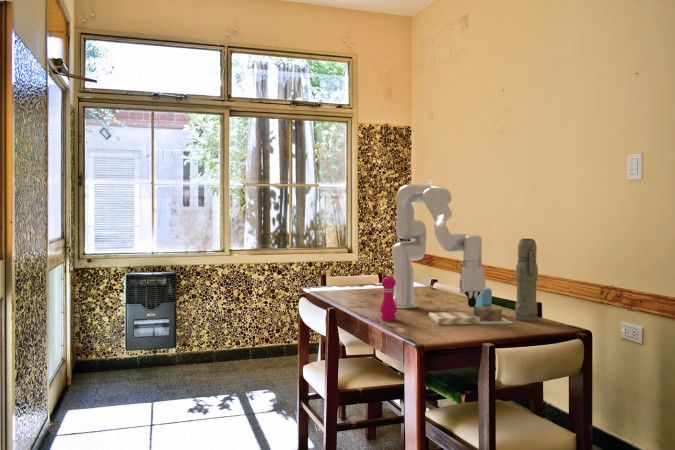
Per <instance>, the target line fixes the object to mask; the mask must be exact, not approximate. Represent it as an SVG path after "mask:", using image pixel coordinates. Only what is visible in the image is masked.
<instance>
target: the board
mask: <svg viewBox="0 0 675 450" xmlns="http://www.w3.org/2000/svg"><path fill="white" fill-rule="evenodd" d="M428 319H429V320H430V321H432V322H433V323H435V324H436V325H438V326H440V325H442V326H443V325H446V326H447V325H481V324H480V318H479V317H477V316H475V315H474V313H471V312H469V311H453V312H447V311H446V312H445V311H444V312H428Z"/></svg>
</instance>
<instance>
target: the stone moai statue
mask: <svg viewBox="0 0 675 450" xmlns="http://www.w3.org/2000/svg"><path fill="white" fill-rule="evenodd" d="M537 246H538V245H537V243H536V240H535V239H533V238H521V239H519V241H518V244H517V263H516V266H515V279H516V302H515V304H514V305H515V308H514V309H515V310H514V311H515V312H514V314H515V321H518V322H521V323H522V322H523V323H524V322H525V323H535V322H537V321H538V319H537V316H538V303H537V281H538V278H539V276H538V275H539V274H538V273H539V269H538V264H537V251H538V250H537Z"/></svg>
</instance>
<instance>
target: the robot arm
mask: <svg viewBox="0 0 675 450" xmlns="http://www.w3.org/2000/svg"><path fill="white" fill-rule="evenodd" d="M451 202H452V193H451V192H450V190H449V189H447V188H445V187H440V186H439V187H438V186H435V185H434V186H433V185H428V184H414V183H413V184H410V183H409V184H404V185H403V186H401V187H400V188H399V189H398V191H397V192H396V197H395V203H396V222H395V223H396V226H395V231H396V232H395V233H396V236H397V237H398V238H399V239H402V240H410V241H399V242H397V243H395V244H394V245H393V246H392V249H391V255H392V261H393V278H394V279H395V281H396V285H395V286H394V292H393V298H394V301H395V304H396V307H397V309H414V308H417V306H418V305H417V304H416V303H415V302H414V283H415V282H414V277H415V276H414V275H415V273H414V268H413V265H412V262H411V261H413V262H414V261H420V260H422V259H423V258H424V256H425V255H426V249H427V248H426V247H427V227H426V224H425V223H424V221H422V220H421V219H417V218H416V219H415V207H414V205H413V204H412V203H424V204H425V206H426V208H427V209H428V211H429V213H430V214H431V217H432V218H433V220H434V226H433V227H434V231H433V232H434V235H435V238H436V240H437V242H438V243H439V245H440V247H441V248H442V249H443V250H444V251H446V252H449V253H450V252H451V253H452V252H463V253H462V254H463V256H462V257H463V258H462V260H461V261H460V262H459V263H460V266H461V265H462V266H461V270H460V275H459V293H460V294H461V295H465V297H466V298H467V306H468V307H469V308H471V309H472V307H473V308H475V305H476V298H477V296H478V295H479V294H482V293H484V290H485V287H486V274H485V269H484V267H482V263H483V261H482V256H483V253H482V251H483V247H482V245H483V244H482V243H483V239H482V236H480V235H477V234H476V235H475V234H474V235H473V234H465V233H453V234H452V233H451V232H450V230H449V229H448V227H447V224H446V223H447V222H448V221H449V220H450V219H451V217H453V211H452V210H451V208H450V206H449V204H450V203H451ZM472 291H473V293H472Z"/></svg>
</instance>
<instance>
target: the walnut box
mask: <svg viewBox="0 0 675 450" xmlns="http://www.w3.org/2000/svg"><path fill="white" fill-rule="evenodd" d="M502 313H503V308H501V307H498V306H492V307H475V308H474V311H473V314H474V315H475V316H477V317H479V318H480V321H502V318H503V317H502V316H503V315H502Z"/></svg>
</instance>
